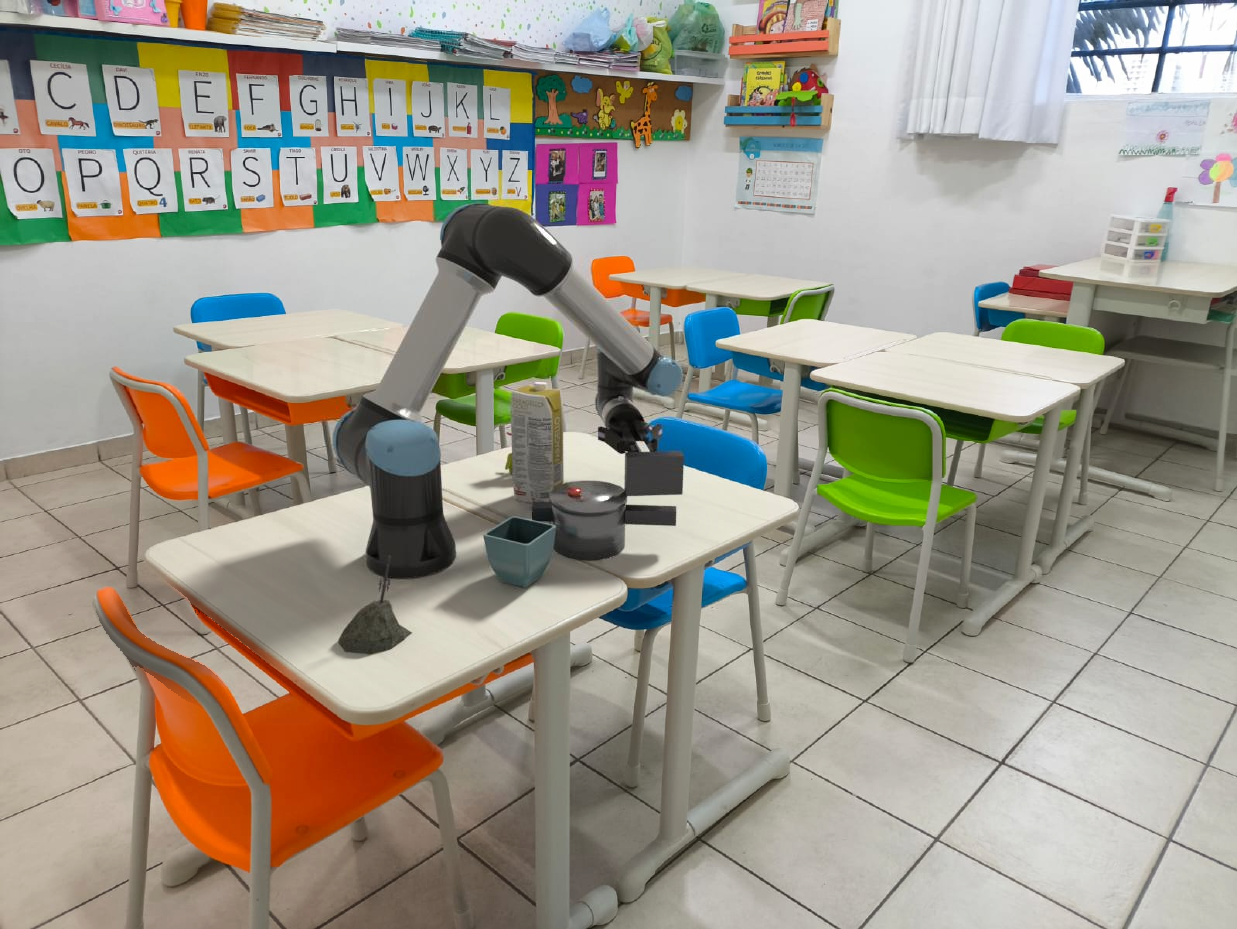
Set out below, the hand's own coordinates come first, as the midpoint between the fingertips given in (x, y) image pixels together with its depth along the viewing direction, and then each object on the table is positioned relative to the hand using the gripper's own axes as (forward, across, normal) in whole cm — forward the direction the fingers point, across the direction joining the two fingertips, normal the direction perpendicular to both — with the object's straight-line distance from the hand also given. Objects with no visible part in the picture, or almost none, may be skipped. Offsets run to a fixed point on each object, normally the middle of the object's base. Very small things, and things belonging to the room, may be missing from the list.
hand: (646, 460), depth 155 cm
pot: (+2, -8, +15) cm, 17 cm away
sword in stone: (+28, -46, +15) cm, 56 cm away
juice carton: (-22, -18, +16) cm, 32 cm away
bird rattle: (-37, -19, +16) cm, 44 cm away
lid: (+1, -6, +6) cm, 9 cm away
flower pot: (+13, -24, +15) cm, 31 cm away
